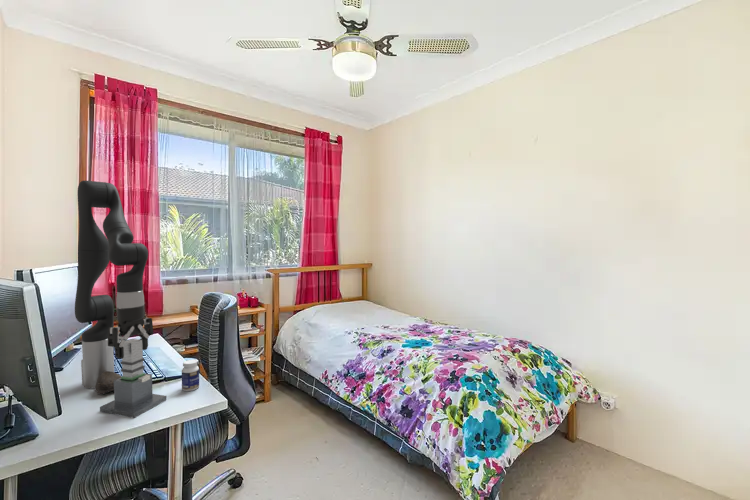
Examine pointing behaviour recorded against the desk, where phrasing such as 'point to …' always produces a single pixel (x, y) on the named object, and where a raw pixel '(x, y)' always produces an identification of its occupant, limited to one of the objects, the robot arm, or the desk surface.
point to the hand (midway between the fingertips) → (132, 353)
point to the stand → (133, 397)
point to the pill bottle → (190, 375)
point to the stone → (106, 382)
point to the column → (132, 360)
